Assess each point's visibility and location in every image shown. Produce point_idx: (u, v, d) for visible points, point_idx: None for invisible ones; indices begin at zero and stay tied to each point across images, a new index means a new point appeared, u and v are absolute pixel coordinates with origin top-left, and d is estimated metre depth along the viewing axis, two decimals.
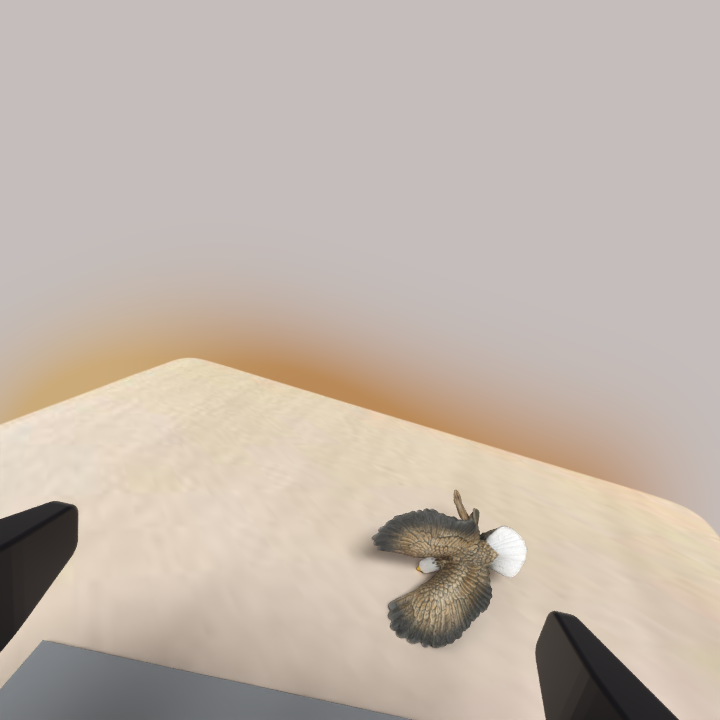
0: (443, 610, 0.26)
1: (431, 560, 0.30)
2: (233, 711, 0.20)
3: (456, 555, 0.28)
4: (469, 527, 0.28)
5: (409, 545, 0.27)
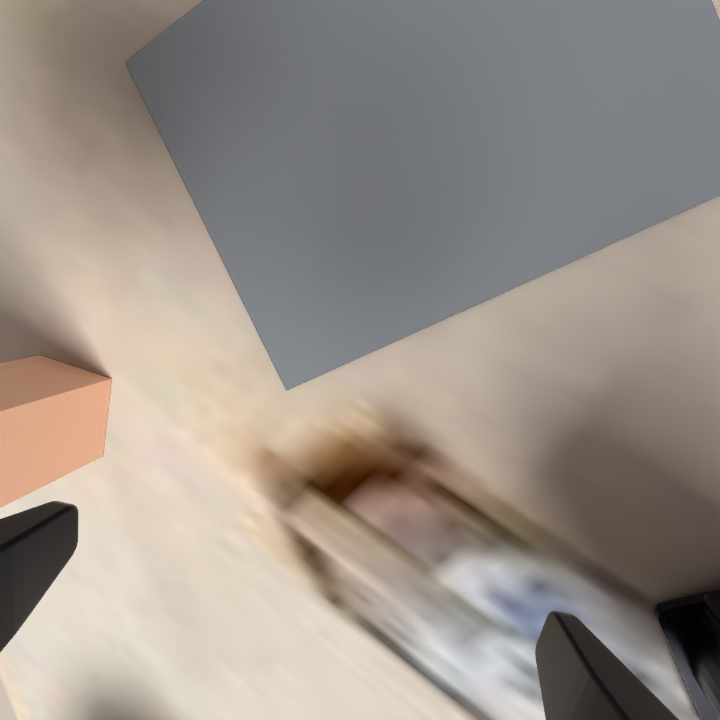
0: None
1: None
2: None
3: None
4: None
5: None
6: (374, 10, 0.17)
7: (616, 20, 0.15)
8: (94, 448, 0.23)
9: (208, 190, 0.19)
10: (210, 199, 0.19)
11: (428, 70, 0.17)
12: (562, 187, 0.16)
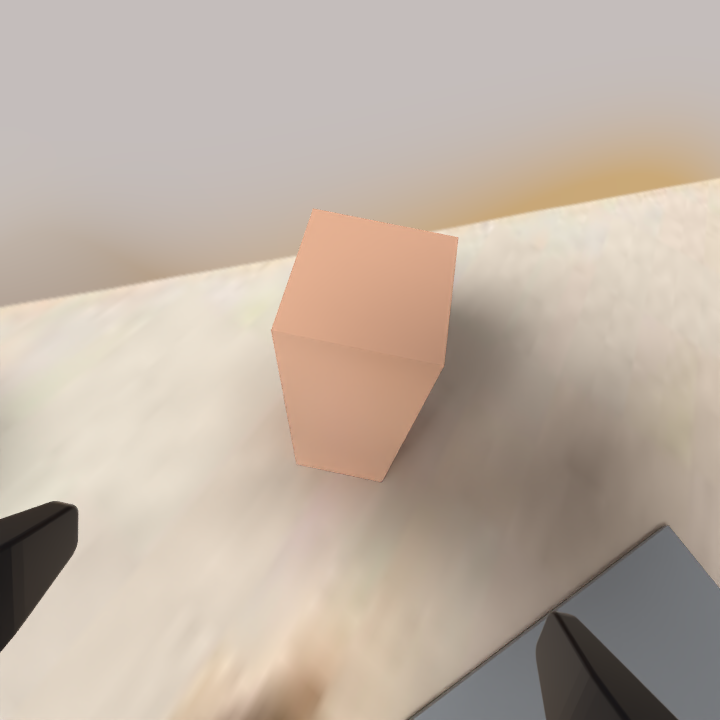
0: None
1: None
2: None
3: None
4: None
5: None
6: None
7: None
8: (309, 463, 0.22)
9: (588, 615, 0.20)
10: (581, 618, 0.20)
11: None
12: None
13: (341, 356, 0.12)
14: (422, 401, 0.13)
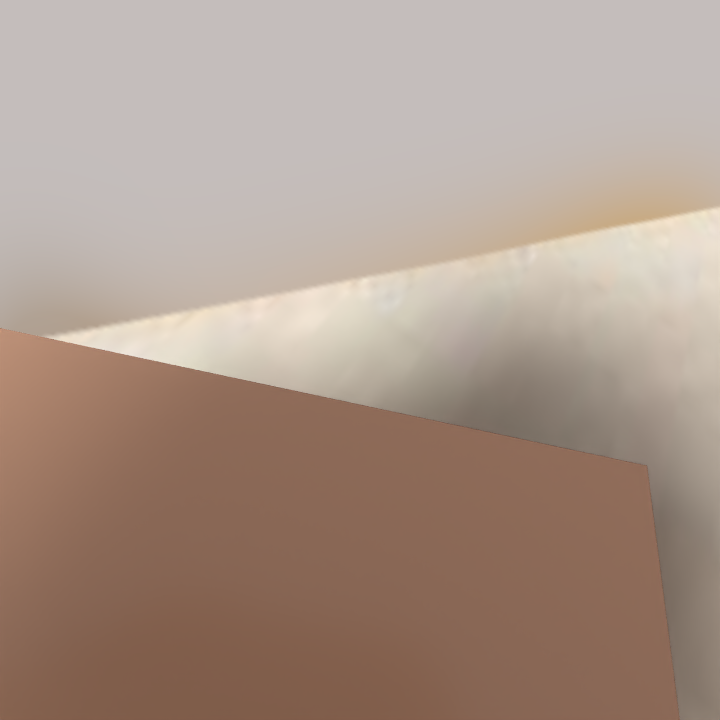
0: None
1: None
2: None
3: None
4: None
5: None
6: None
7: None
8: None
9: None
10: None
11: None
12: None
13: None
14: None
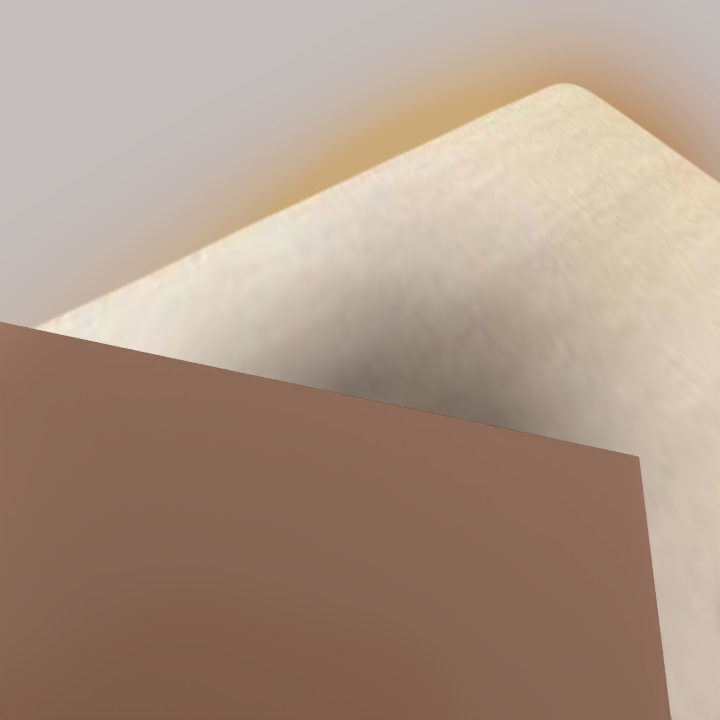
0: None
1: None
2: None
3: None
4: None
5: None
6: None
7: None
8: None
9: None
10: None
11: None
12: None
13: None
14: None
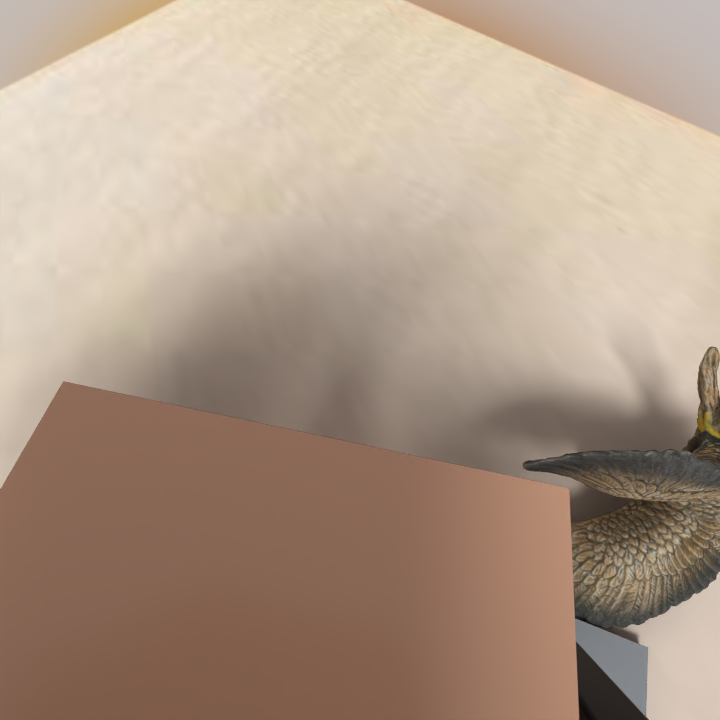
0: (625, 585, 0.14)
1: None
2: None
3: None
4: None
5: (597, 486, 0.13)
6: None
7: None
8: None
9: None
10: None
11: None
12: None
13: None
14: None
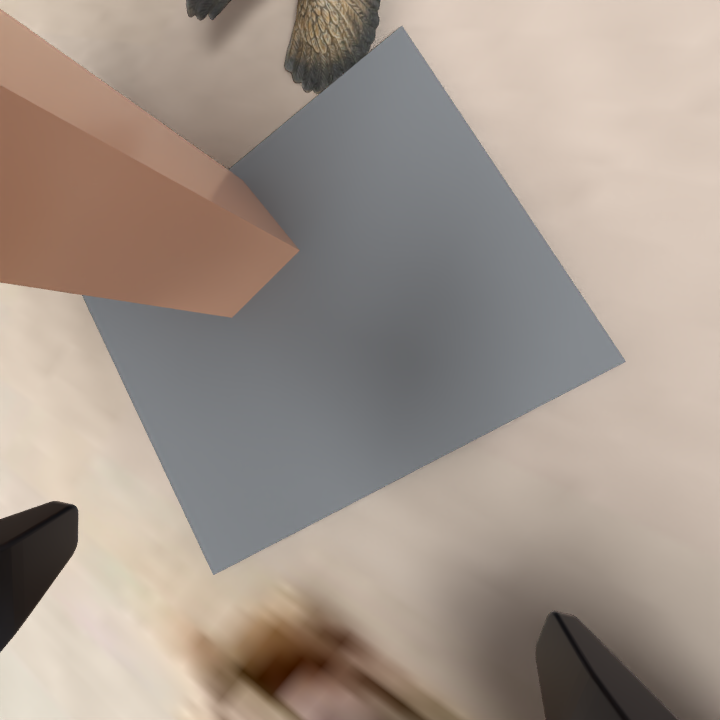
0: (340, 10, 0.17)
1: None
2: None
3: None
4: None
5: None
6: None
7: (459, 244, 0.17)
8: (234, 305, 0.20)
9: (143, 391, 0.22)
10: (145, 398, 0.22)
11: (312, 289, 0.19)
12: (437, 381, 0.18)
13: None
14: (81, 133, 0.09)
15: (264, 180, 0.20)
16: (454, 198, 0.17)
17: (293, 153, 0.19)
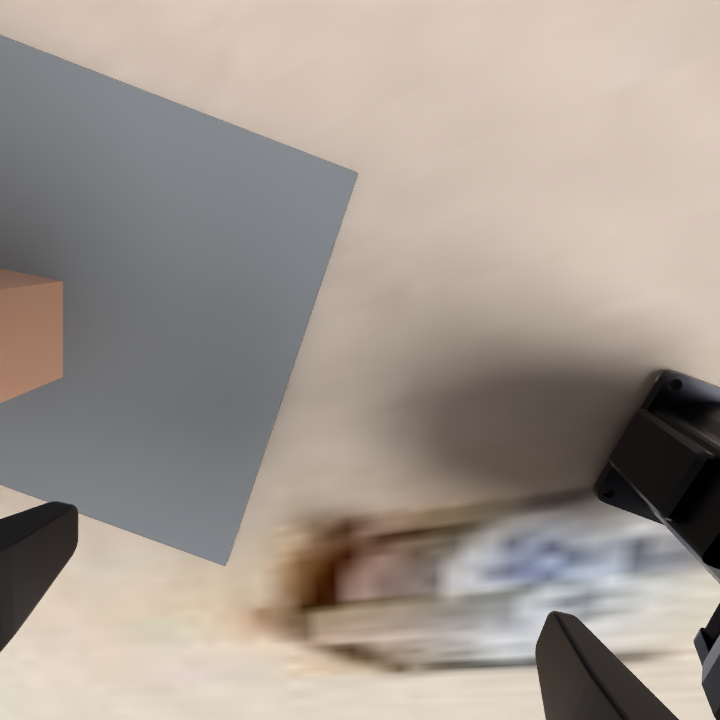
0: None
1: None
2: None
3: None
4: None
5: None
6: None
7: (172, 177, 0.18)
8: (51, 366, 0.19)
9: (52, 488, 0.22)
10: (59, 492, 0.22)
11: (100, 303, 0.19)
12: (249, 297, 0.19)
13: None
14: None
15: None
16: (137, 142, 0.17)
17: None
